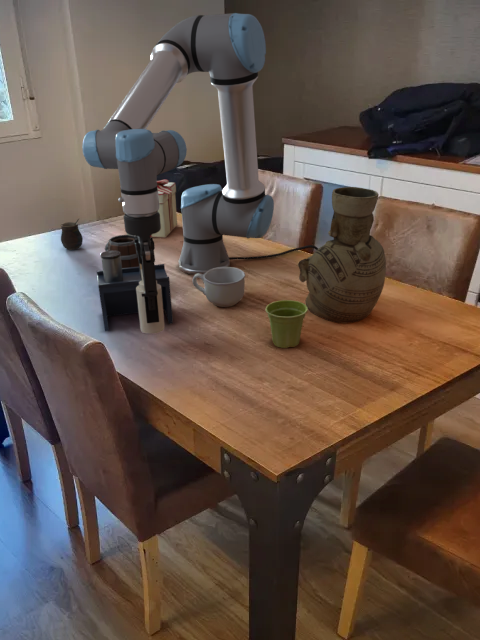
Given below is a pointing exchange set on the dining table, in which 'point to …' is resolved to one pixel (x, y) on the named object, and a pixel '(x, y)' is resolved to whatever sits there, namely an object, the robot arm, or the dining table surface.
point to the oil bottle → (144, 326)
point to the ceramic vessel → (346, 261)
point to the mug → (124, 249)
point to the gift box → (166, 208)
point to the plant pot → (286, 322)
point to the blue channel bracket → (130, 293)
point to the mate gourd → (71, 235)
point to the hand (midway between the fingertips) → (151, 316)
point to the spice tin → (112, 266)
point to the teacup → (222, 285)
